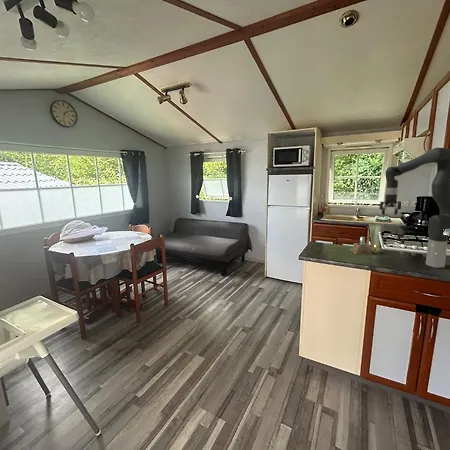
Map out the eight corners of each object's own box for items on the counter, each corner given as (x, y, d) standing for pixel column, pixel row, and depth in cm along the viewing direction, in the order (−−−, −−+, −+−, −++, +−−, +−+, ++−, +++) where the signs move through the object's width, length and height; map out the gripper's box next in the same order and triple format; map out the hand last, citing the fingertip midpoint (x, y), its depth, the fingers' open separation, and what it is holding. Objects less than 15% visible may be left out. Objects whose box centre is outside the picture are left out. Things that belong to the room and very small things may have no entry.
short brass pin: (378, 253, 192) (379, 245, 191) (374, 252, 193) (375, 245, 192) (377, 251, 195) (377, 244, 194) (372, 251, 196) (373, 244, 195)
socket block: (372, 254, 189) (373, 246, 188) (356, 254, 190) (356, 246, 189) (366, 250, 200) (366, 242, 199) (350, 249, 202) (350, 242, 201)
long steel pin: (364, 252, 194) (365, 237, 191) (360, 252, 194) (361, 237, 192) (362, 251, 197) (363, 236, 194) (358, 251, 197) (359, 236, 195)
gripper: (383, 194, 188) (381, 215, 191) (404, 193, 186) (402, 215, 189) (379, 193, 196) (377, 214, 199) (398, 193, 194) (396, 214, 197)
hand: (389, 214), depth 194 cm, fingers open, 8 cm apart
